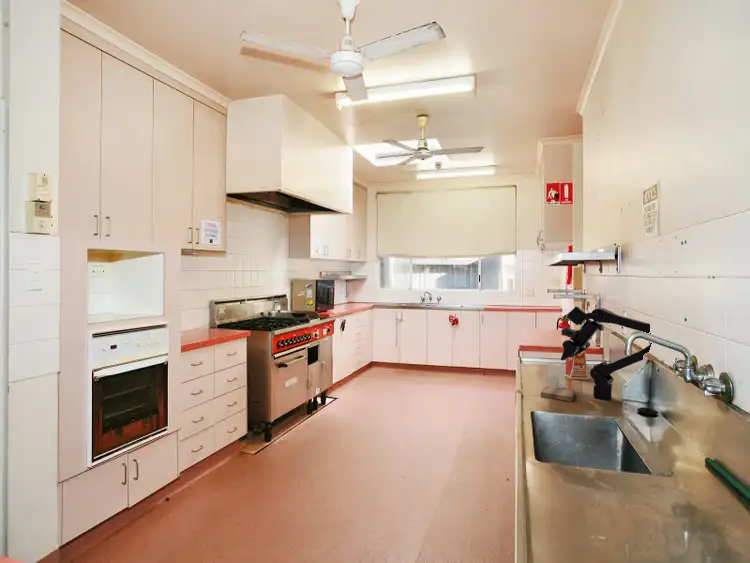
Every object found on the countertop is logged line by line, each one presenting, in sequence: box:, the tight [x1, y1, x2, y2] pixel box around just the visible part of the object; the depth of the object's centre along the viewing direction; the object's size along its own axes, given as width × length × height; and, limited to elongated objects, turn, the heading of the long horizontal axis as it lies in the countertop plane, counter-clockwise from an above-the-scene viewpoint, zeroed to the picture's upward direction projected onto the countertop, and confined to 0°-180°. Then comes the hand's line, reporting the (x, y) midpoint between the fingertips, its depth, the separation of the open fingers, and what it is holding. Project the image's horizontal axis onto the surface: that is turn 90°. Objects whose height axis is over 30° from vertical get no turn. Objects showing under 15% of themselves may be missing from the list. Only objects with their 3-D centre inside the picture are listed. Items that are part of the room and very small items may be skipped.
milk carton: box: [565, 347, 589, 380], centre depth 228 cm, size 9×9×20 cm
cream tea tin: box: [546, 361, 567, 389], centre depth 206 cm, size 6×6×11 cm
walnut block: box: [540, 385, 576, 402], centre depth 192 cm, size 12×12×2 cm
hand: (565, 358), depth 201 cm, fingers open, 9 cm apart
